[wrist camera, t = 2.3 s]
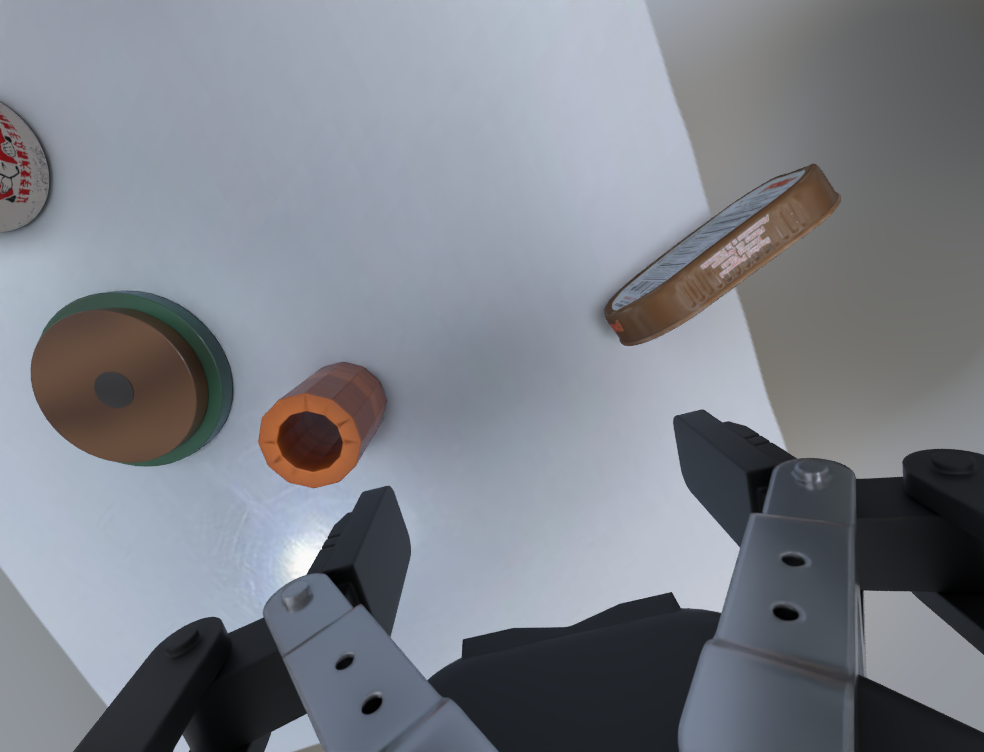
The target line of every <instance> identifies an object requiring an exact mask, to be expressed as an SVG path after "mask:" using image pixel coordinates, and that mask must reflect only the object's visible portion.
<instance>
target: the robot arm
mask: <svg viewBox="0 0 984 752" xmlns="http://www.w3.org/2000/svg"><path fill="white" fill-rule="evenodd" d="M673 425H674V431H675V437H676V443H677V449H678V455H679V461H680V466H681V471H682V475H683V478H684V480H685V483H686V485H687V487H688V488H689V490H690V491H691V493H692V494H693V495H694V496H695V497H696V498H697V499H698V500H699V502H700V503H701V504H702V505H703V506H704V507H705V508H706V510H707V511H708V512H709V513H710V514H711V515H712V516H713V517H714V519H715V520H716V521H717V522H718V523H719V524H720V525H721V527H722V528H723V529H724V530H725V531H726V532H727V533H728V534H729V536H730V537H731V538H732V539H733V540H734V541H735V542H736V543H737V545H738V546H739V547H740V551H739V554H738V558H737V561H736V564H735V568H734V571H733V575H732V578H731V582H730V585H729V589H728V592H727V596H726V599H725V603H724V606H723V610H722V613H719V612H714V611H708V610H703V609H690V608H680V606H679V604H678V602H677V601H676V599H675V597H674V595H673V594H672V592H670V593H666V594H661V595H657V596H652V597H648V598H644V599H639V600H635V601H630V602H626V603H622V604H618V605H616V606H614V607H612V608H610V609H607V610H605V611H603V612H601V613H599V614H597V615H594V616H592V617H590V618H588V619H586V620H583V621H581V622H579V623H577V624H575V625H572V626H569V627H553V628H511V629H507V630H503V631H498V632H494V633H489V634H485V635H481V636H476V637H472V638H467V639H463V645H462V658H460V659H458V660H456V661H454V662H453V663H451V664H449V665H447V666H446V667H444V668H443V669H441V670H440V671H438V672H437V673H436V674H434V675H433V676H432V677H430V678H429V679H428V680H426V679H425V677H424V676H423V675H422V674H421V673H420V672H419V670H418V669H417V668H416V667H415V666H414V665H413V663H412V662H411V661H410V660H409V659H408V657H407V656H406V655H405V654H404V653H403V652H402V650H401V649H400V648H399V647H398V646H397V645H396V643H395V642H394V641H393V640H392V639H391V638H390V637H391V633H392V629H393V625H394V621H395V617H396V613H397V609H398V605H399V601H400V597H401V593H402V589H403V585H404V581H405V577H406V573H407V569H408V565H409V561H410V556H411V545H410V538H409V534H408V531H407V528H406V525H405V522H404V519H403V517H402V514H401V511H400V508H399V505H398V502H397V499H396V496H395V493H394V491H393V489H392V488H391V487H390V486H385V487H381V488H377V489H372V490H368V491H364V492H362V494H361V496H360V498H359V500H358V501H357V503H356V505H355V507H354V509H353V511H352V512H350V513H347V514H346V515H345V516H344V517H343V518H342V519H341V520H340V521H338V522H337V523H336V524H335V525H334V527H333V529H332V530H331V532H330V534H329V536H328V539H327V540H326V541H325V543H324V545H323V546H322V550H320V552H319V553H318V555H317V557H316V559H315V561H314V562H313V564H312V566H311V568H310V569H309V571H308V573H307V575H305V576H302V577H299V578H297V579H295V580H293V581H291V582H289V583H288V584H286V585H285V586H283V587H282V588H280V589H279V590H278V591H277V592H276V593H274V594H273V595H272V596H271V597H270V599H269V600H268V601H267V603H266V604H265V606H264V609H263V616H264V618H262V619H260V620H257V621H255V622H253V623H251V624H248V625H246V626H244V627H242V628H239V629H237V630H235V631H233V632H230V633H227V631H226V629H225V627H224V624H223V622H222V620H221V619H220V618H217V617H208V618H203V619H200V620H197V621H195V622H192V623H190V624H188V625H186V626H184V627H182V628H181V629H179V630H177V631H176V632H174V633H173V634H171V635H170V636H169V637H167V638H166V639H165V640H164V641H162V642H161V643H160V644H159V645H158V646H157V647H156V648H155V649H154V650H153V651H152V653H151V654H150V655H149V656H148V658H147V659H146V660H145V661H144V663H143V664H142V665H141V666H140V668H139V669H138V670H137V671H136V673H135V674H134V675H133V677H132V678H131V679H130V680H129V682H128V683H127V684H126V685H125V687H124V688H123V689H122V690H121V692H120V693H119V694H118V696H117V697H116V698H115V699H114V701H113V702H112V703H111V704H110V706H109V707H108V708H107V709H106V711H105V712H104V713H103V715H102V716H101V717H100V718H99V720H98V721H97V722H96V723H95V725H94V726H93V727H92V729H91V730H90V731H89V732H88V734H87V735H86V736H85V737H84V739H83V740H82V741H81V743H80V744H79V745H78V746H77V747H76V749H75V750H74V751H73V752H173V750H174V748H175V746H176V744H177V743H178V741H179V739H180V737H181V736H182V734H183V736H184V738H185V740H186V742H187V744H188V745H189V747H190V751H189V752H264V751H265V748H266V746H267V743H268V741H269V738H270V735H271V732H272V731H274V730H276V729H278V728H280V727H282V726H284V725H286V724H288V723H289V722H291V721H293V720H295V719H297V718H299V717H301V716H303V715H305V714H307V715H308V717H309V719H310V721H311V723H312V726H313V728H314V730H315V732H316V735H317V737H318V739H319V741H320V744H321V746H322V748H323V750H324V752H984V733H983V732H981V731H979V730H977V729H975V728H972V727H970V726H968V725H966V724H964V723H962V722H960V721H958V720H955V719H953V718H951V717H949V716H947V715H945V714H943V713H940V712H938V711H936V710H934V709H932V708H930V707H928V706H925V705H923V704H921V703H919V702H917V701H915V700H913V699H911V698H909V697H906V696H904V695H902V694H900V693H898V692H896V691H894V690H891V689H889V688H887V687H885V686H883V685H881V684H879V683H877V682H874V681H872V680H870V679H868V678H866V648H865V614H864V590H870V591H871V590H872V591H911V592H912V593H913V594H914V595H915V596H916V597H917V598H918V599H919V600H921V601H922V602H923V603H924V604H925V605H926V606H928V607H929V608H930V609H931V610H932V611H933V612H935V613H936V614H937V615H938V616H939V617H940V618H942V619H943V620H944V621H945V622H946V623H947V624H948V625H950V626H951V627H952V628H953V629H954V630H956V631H957V632H958V633H959V634H960V635H961V636H962V637H964V638H965V639H966V640H967V641H968V642H969V643H971V644H972V645H973V646H974V647H975V648H977V649H978V650H979V651H980V652H981V653H982V654H983V655H984V455H982V454H979V453H974V452H969V451H963V450H955V449H930V450H922V451H918V452H914V453H912V454H909V455H908V456H906V457H905V458H904V460H903V462H902V463H903V477H891V478H872V479H856V477H855V474H854V472H853V471H852V470H851V469H850V468H848V467H847V466H845V465H843V464H841V463H838V462H835V461H830V460H826V459H818V458H800V459H797V458H795V457H794V456H792V455H791V454H789V453H787V452H786V451H784V450H783V449H781V448H780V447H778V446H777V445H775V444H773V443H770V442H769V440H767V439H766V438H764V437H762V436H759V434H758V433H756V432H755V431H753V430H752V429H750V428H748V427H747V426H744V425H740V424H736V423H732V422H729V421H728V422H723V423H722V422H721V421H719V420H718V419H716V418H715V417H714V416H712V415H711V414H709V413H708V412H706V411H705V410H698V411H693V412H689V413H685V414H681V415H677V416H675V417H674V420H673Z"/></svg>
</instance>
